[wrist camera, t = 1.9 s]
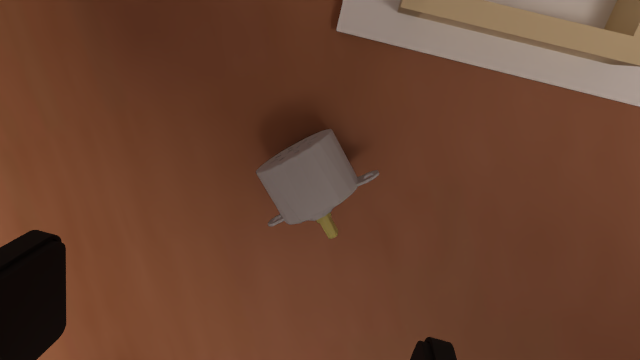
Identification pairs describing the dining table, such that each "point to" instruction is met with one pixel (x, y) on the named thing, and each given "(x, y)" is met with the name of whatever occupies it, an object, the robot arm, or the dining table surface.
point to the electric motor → (310, 180)
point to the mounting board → (516, 38)
